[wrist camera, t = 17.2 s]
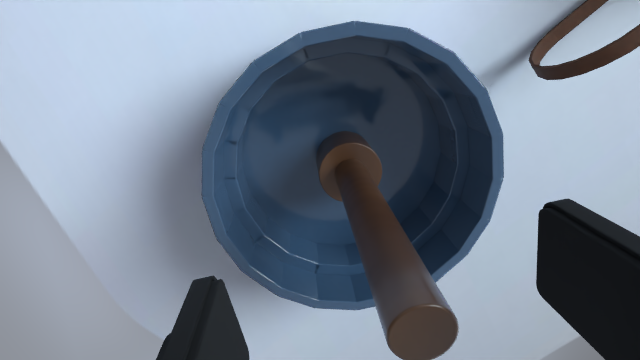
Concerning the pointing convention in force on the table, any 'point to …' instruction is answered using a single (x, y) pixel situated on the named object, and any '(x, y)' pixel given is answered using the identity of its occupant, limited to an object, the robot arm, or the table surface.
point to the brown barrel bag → (585, 63)
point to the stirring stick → (386, 252)
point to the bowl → (381, 134)
